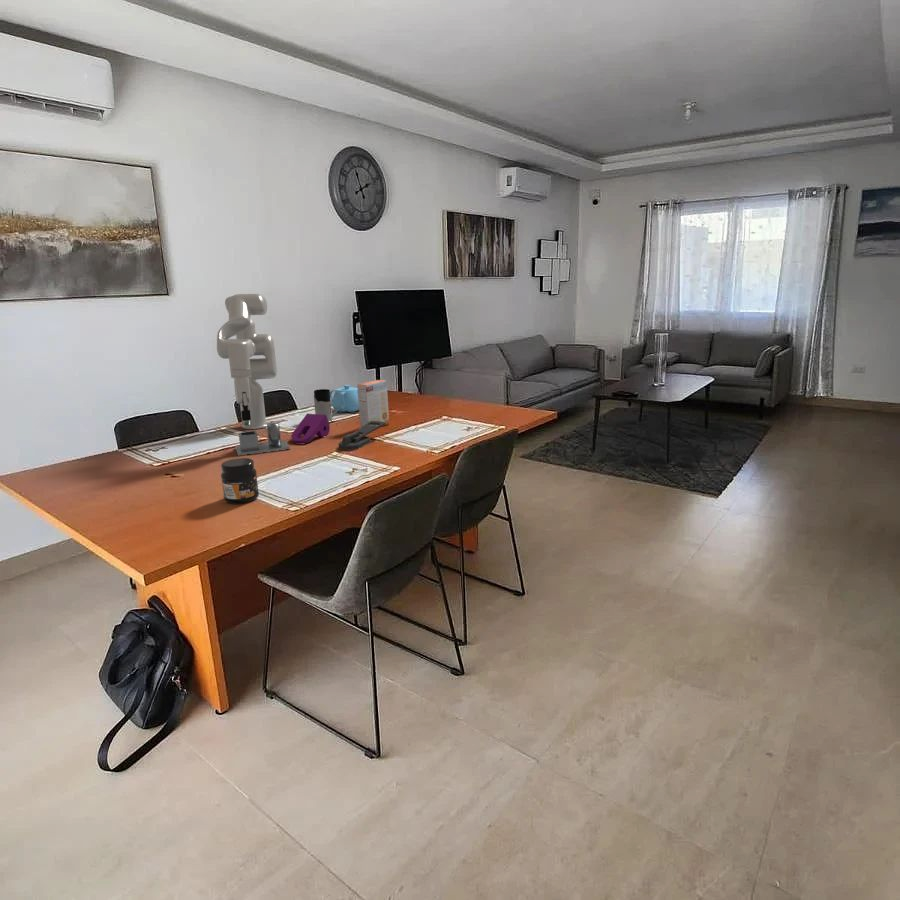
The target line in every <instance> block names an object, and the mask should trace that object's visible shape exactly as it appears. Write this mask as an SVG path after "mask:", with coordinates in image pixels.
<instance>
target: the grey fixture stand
mask: <svg viewBox="0 0 900 900" xmlns="http://www.w3.org/2000/svg"><path fill="white" fill-rule="evenodd" d="M266 431H267V441H266V442H259V437H258V433H257V431H256V430H251V431H250V430H249V431H241V432H238V438H239V440H238V441H239V444H238V445H234V448H235V451H237V452H236V453H237V456H238V457H241V456H240V455H243V456H248V455H247V454H251V455H255V454H254V453H259V454H264V453H263V452H267V453H272V452H271V451H276V452H280V451H279V450H284V451H287V450H286V449H290V450H291V446H290V445H289V443H288V442H287V440H286V439H283V440H281V429H280V423H279V422H269V423H268V424H267V427H266Z"/></svg>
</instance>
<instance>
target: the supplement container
mask: <svg viewBox="0 0 900 900" xmlns="http://www.w3.org/2000/svg"><path fill="white" fill-rule="evenodd" d="M220 467H221V473H220V478H221V484H222V485H221V486H222V492H223V494H222V495H223V500H224V501H225V502H226V503H228V504H233V505H234V504H235V505H236V504H237V505H238V504H240V505H241V504H246V503H250V502H252V501H254V500H257V498H258V497H259V496H260V493H259V492H260V491H259V485H258V476H257V473H258V471H257V469H255V461H254V460H253V459H252V458H248V457H238V458H232V459H228V460H225V461H223V462H221V464H220Z"/></svg>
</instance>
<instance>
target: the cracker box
mask: <svg viewBox="0 0 900 900" xmlns="http://www.w3.org/2000/svg"><path fill="white" fill-rule="evenodd" d="M356 385H357V387H356V388H358V401H359V410H358V411H359V413H358V414H359V424H360V425H359V426H360V428H361V427H363V426H364V425H366V424H367V423H368V422H370V421H380V422H385V425H384V426H383V427H385V426H388V425H390V413H389V401H388V400H389V399H388V382H387V380H385V379H384V380H382V379H376V380H371V381H366V382H363V383H358V384H356ZM374 426H378V425H374Z"/></svg>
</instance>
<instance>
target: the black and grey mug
mask: <svg viewBox="0 0 900 900" xmlns="http://www.w3.org/2000/svg"><path fill="white" fill-rule="evenodd" d="M330 391H331V390H330V389H328V388H326V389H325V388H323V389H322V388H321V389H320V388H319V389H315V390H314V391H313V400H314V414H321V415H326V417H327V419H328V422H329V421H332V420H333V421H334V419H333V417H334V415H335V414H336V413H338V410H339V409H340V408H341V406H342V404H343V395H342V394H341V393H339V394H341V395H342V404H341V406H340V408H339V409H338V410H337V411H336V410H335V411H334V412H333V413H332V409H333V407H332V405H331V402H333V401H334V400H335V395H336V394H337V393H336V394H335V393H334V394H335V395H334V394H333V396H334V400H333V401H332V400H331V397H330ZM329 423H330V422H329Z"/></svg>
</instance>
